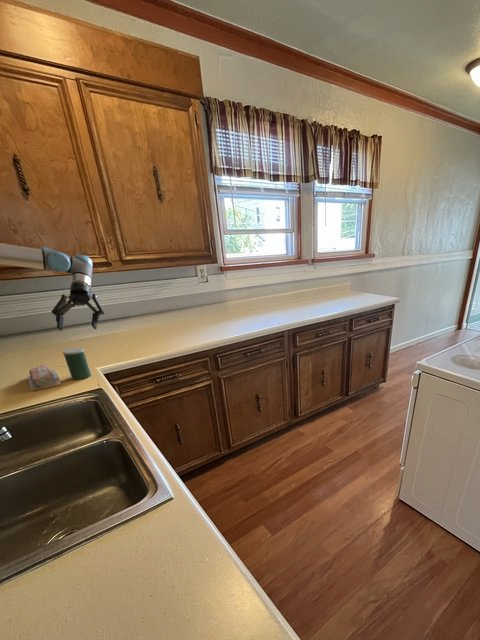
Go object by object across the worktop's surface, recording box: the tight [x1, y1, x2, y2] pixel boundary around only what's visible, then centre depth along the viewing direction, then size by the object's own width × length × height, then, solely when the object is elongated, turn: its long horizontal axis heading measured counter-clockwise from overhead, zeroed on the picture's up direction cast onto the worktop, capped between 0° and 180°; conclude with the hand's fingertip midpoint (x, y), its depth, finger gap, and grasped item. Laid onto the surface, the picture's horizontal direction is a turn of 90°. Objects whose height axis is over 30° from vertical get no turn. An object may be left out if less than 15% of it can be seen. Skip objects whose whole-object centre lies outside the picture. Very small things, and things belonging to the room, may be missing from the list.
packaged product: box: [26, 364, 62, 392], centre depth 134 cm, size 18×5×10 cm
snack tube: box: [62, 347, 92, 381], centre depth 137 cm, size 7×7×12 cm
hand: (76, 328), depth 141 cm, fingers open, 13 cm apart
